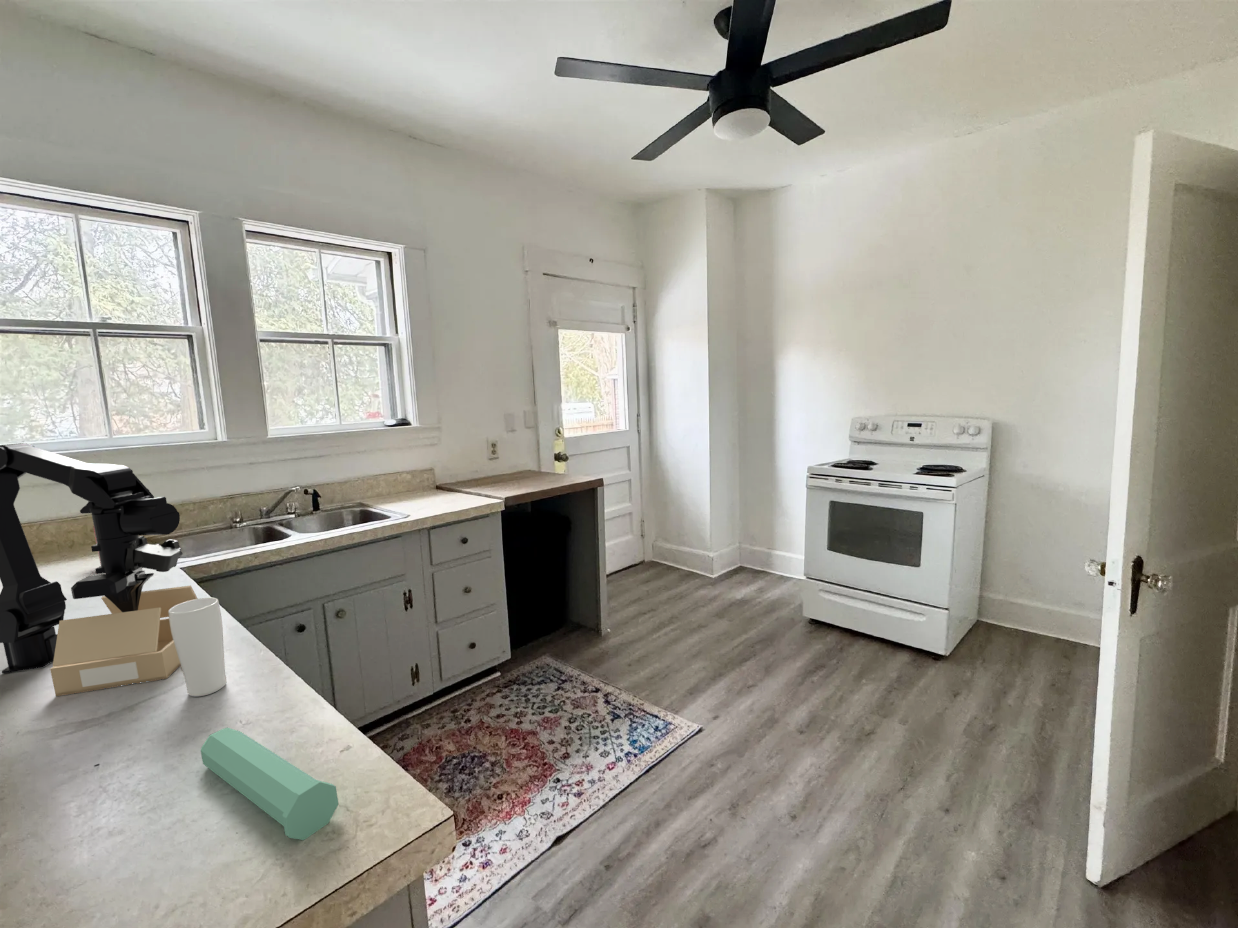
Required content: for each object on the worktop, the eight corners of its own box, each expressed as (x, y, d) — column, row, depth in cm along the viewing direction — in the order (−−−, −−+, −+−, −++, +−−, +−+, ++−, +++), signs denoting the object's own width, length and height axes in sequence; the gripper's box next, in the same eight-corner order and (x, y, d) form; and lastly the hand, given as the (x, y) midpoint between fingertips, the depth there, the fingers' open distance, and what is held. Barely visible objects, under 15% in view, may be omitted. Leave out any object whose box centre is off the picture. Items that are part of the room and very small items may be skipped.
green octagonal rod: (198, 723, 73) (293, 788, 59) (246, 717, 78) (344, 776, 64) (184, 771, 72) (278, 848, 58) (234, 762, 77) (332, 832, 63)
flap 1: (54, 666, 93) (52, 666, 93) (61, 620, 96) (59, 620, 95) (156, 651, 97) (155, 651, 96) (161, 607, 99) (159, 607, 99)
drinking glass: (206, 701, 90) (191, 614, 87) (171, 699, 91) (156, 612, 89) (241, 679, 96) (228, 597, 94) (209, 677, 97) (196, 596, 95)
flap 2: (101, 598, 106) (102, 596, 106) (118, 623, 110) (119, 621, 111) (189, 587, 110) (190, 585, 110) (203, 612, 114) (203, 610, 115)
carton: (55, 697, 94) (49, 669, 93) (119, 649, 111) (114, 625, 110) (166, 679, 98) (161, 652, 97) (211, 635, 115) (207, 613, 114)
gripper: (141, 543, 94) (156, 630, 96) (192, 519, 112) (204, 593, 114) (61, 551, 91) (78, 641, 93) (127, 525, 109) (140, 600, 111)
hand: (132, 616), depth 103 cm, fingers closed
